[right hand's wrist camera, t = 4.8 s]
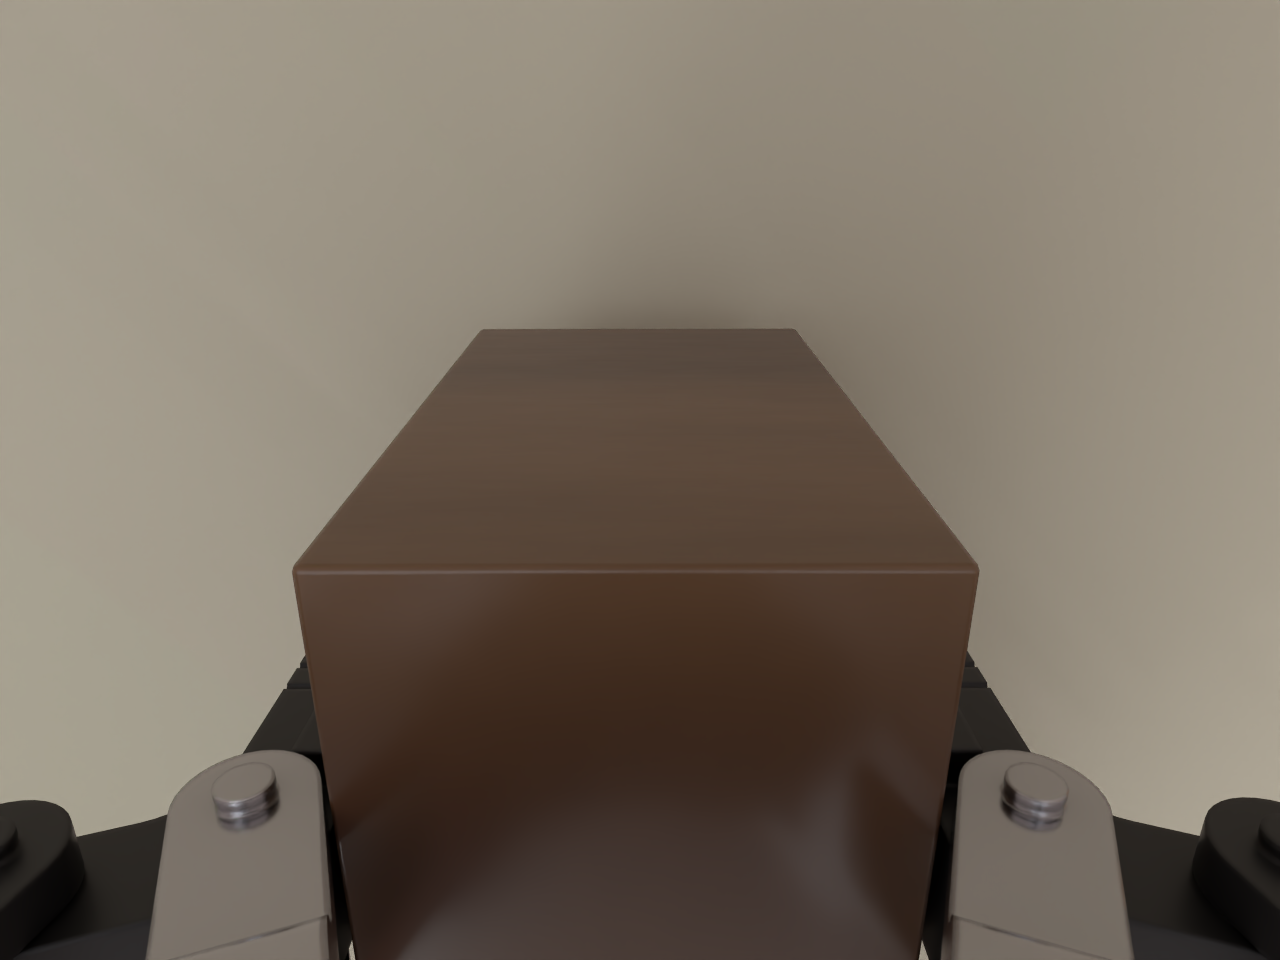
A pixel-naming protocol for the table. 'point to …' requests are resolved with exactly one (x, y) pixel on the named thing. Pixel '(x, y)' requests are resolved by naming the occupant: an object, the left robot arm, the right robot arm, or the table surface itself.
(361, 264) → the table surface
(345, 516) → the bar
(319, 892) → the right robot arm
